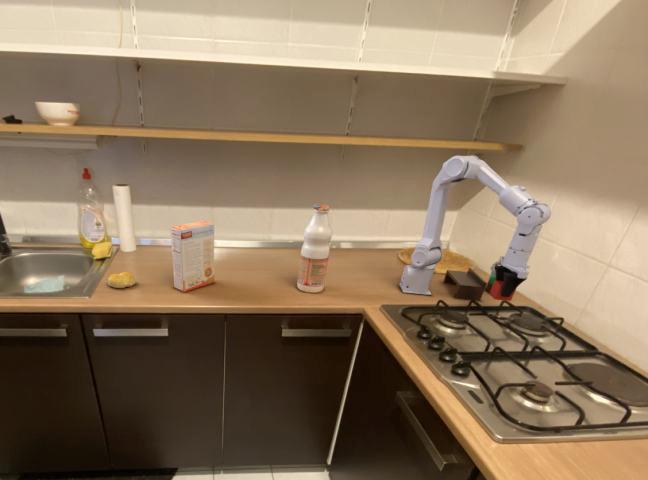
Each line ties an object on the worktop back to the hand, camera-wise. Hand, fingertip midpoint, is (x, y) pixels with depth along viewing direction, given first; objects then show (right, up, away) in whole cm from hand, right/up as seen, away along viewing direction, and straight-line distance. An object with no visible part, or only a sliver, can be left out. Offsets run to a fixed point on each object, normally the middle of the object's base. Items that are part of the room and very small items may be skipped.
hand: (501, 293), depth 116 cm
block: (0, -1, +1) cm, 1 cm away
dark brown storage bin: (+1, +4, +23) cm, 23 cm away
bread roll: (-120, +5, +16) cm, 121 cm away
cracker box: (-95, +5, +18) cm, 97 cm away
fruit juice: (-54, +4, +20) cm, 58 cm away
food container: (+14, +4, +25) cm, 29 cm away
